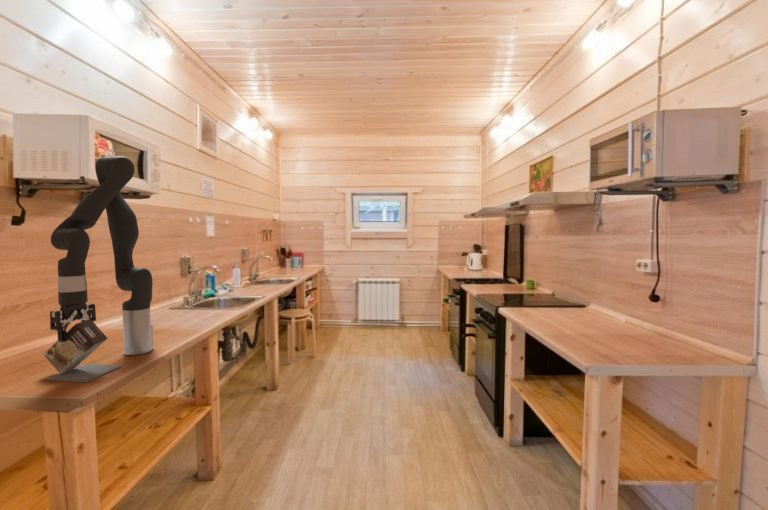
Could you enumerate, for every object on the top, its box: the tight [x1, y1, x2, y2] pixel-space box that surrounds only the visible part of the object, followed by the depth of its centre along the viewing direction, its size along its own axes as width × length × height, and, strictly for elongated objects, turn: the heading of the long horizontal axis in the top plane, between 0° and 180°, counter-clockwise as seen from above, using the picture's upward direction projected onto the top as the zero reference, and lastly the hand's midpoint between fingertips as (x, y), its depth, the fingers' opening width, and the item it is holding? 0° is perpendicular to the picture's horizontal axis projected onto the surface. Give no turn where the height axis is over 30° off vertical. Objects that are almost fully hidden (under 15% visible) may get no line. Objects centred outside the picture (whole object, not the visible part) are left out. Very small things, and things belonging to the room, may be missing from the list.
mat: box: [46, 363, 122, 383], centre depth 130 cm, size 14×14×1 cm
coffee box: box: [42, 319, 108, 374], centre depth 130 cm, size 9×6×16 cm
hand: (75, 338), depth 129 cm, fingers open, 8 cm apart
